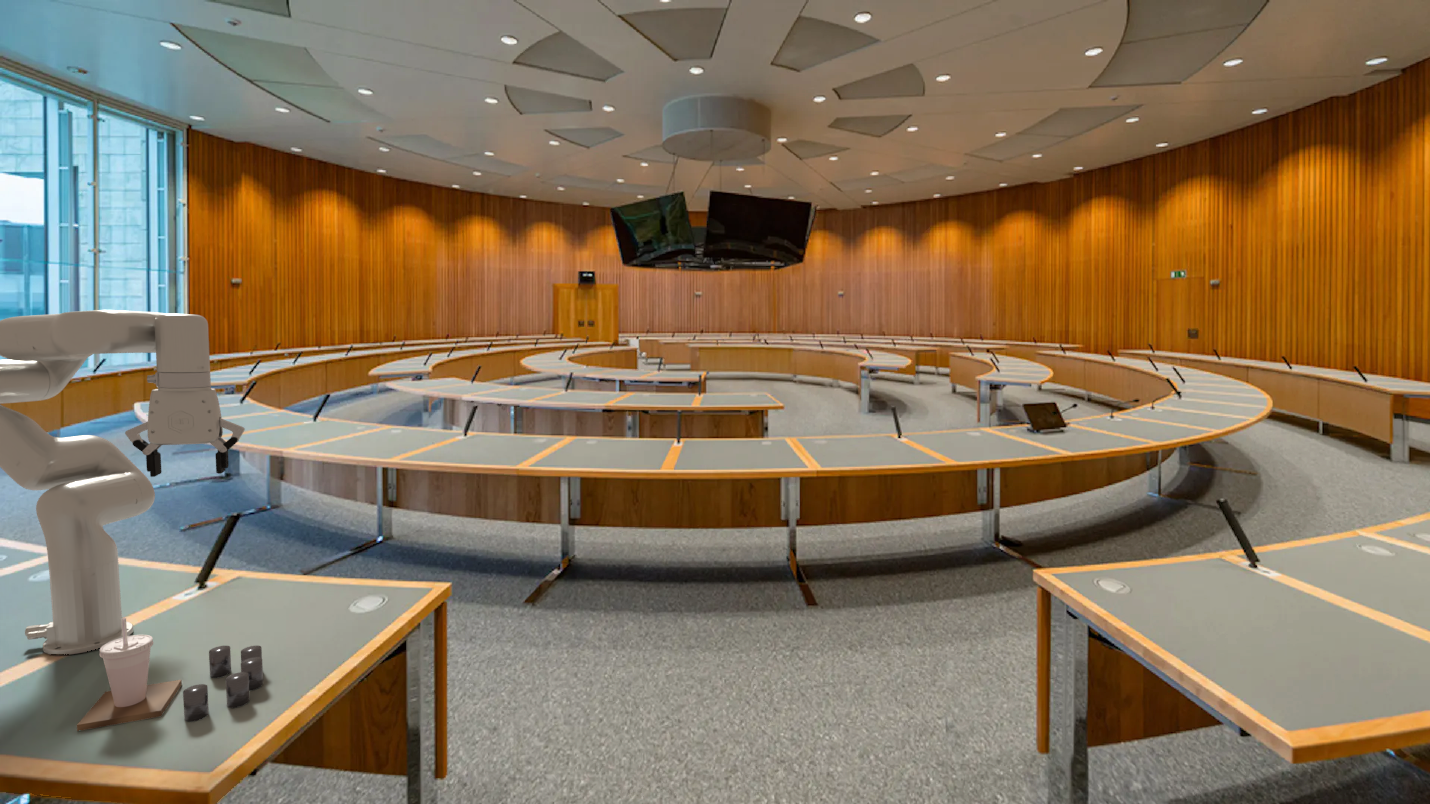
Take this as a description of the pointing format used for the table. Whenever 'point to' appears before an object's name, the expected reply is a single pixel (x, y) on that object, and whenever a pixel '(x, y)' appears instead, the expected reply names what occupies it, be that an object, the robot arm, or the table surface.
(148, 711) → the walnut pad
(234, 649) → the table surface
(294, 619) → the table surface
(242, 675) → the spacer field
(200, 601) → the table surface
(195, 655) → the table surface
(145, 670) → the smoothie
